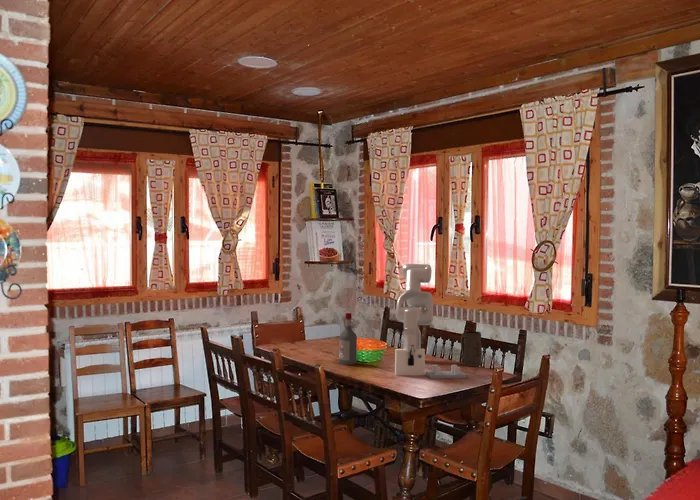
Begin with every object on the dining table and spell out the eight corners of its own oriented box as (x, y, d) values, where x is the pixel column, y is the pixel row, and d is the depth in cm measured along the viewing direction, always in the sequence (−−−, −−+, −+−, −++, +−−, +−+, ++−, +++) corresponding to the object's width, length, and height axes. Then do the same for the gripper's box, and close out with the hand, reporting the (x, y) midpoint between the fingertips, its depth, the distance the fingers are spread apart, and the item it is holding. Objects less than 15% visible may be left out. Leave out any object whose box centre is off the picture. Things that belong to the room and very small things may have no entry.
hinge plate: (425, 374, 334) (425, 364, 334) (460, 373, 336) (460, 363, 336) (430, 378, 324) (430, 368, 324) (466, 377, 326) (466, 367, 326)
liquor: (346, 365, 353) (347, 314, 353) (337, 363, 360) (337, 312, 360) (358, 363, 359) (359, 313, 359) (348, 361, 366) (349, 311, 366)
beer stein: (486, 365, 361) (484, 331, 362) (475, 367, 354) (473, 333, 355) (465, 362, 373) (464, 330, 374) (454, 364, 366) (453, 331, 366)
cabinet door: (394, 374, 333) (395, 349, 332) (423, 373, 335) (423, 348, 335) (396, 376, 329) (396, 350, 328) (425, 375, 331) (425, 350, 331)
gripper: (400, 329, 340) (399, 361, 340) (407, 333, 323) (406, 367, 323) (413, 329, 341) (412, 361, 341) (421, 333, 324) (420, 367, 325)
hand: (409, 364), depth 332 cm, fingers open, 3 cm apart
